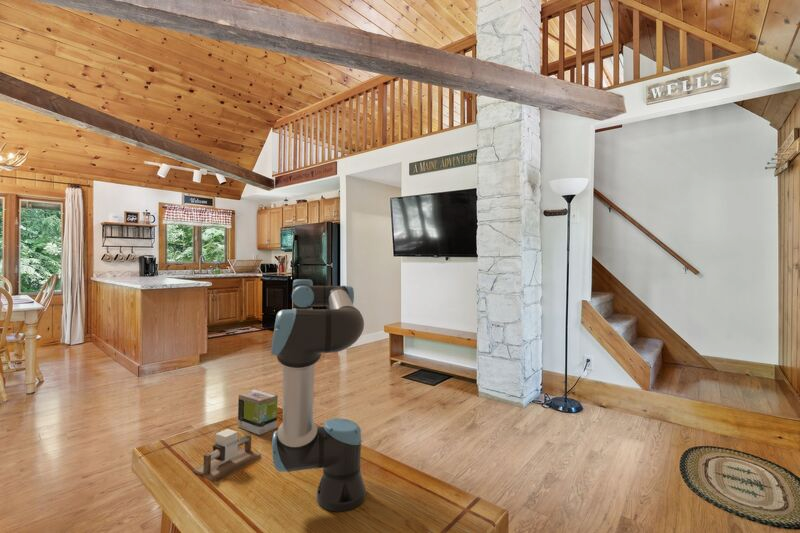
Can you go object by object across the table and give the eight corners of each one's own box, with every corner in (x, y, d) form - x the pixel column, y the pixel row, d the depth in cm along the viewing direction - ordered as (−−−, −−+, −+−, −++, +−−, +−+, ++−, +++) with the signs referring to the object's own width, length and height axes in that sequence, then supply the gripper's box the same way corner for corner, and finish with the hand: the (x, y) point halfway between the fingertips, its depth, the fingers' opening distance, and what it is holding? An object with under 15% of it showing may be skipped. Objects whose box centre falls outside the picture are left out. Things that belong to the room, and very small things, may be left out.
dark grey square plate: (224, 459, 134) (224, 446, 134) (221, 461, 133) (222, 448, 133) (215, 456, 136) (216, 443, 136) (212, 458, 135) (213, 445, 135)
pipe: (249, 443, 145) (249, 435, 145) (211, 462, 130) (212, 454, 130) (243, 441, 146) (243, 434, 146) (206, 460, 132) (206, 452, 132)
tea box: (277, 427, 170) (278, 394, 170) (258, 436, 161) (259, 401, 161) (256, 419, 178) (256, 388, 178) (236, 427, 169) (237, 394, 169)
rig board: (260, 456, 144) (261, 437, 144) (216, 481, 127) (217, 460, 127) (238, 449, 149) (238, 430, 149) (193, 472, 132) (193, 451, 132)
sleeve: (237, 455, 138) (237, 431, 138) (225, 461, 134) (225, 437, 134) (226, 451, 141) (227, 428, 141) (214, 457, 136) (215, 433, 136)
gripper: (304, 316, 155) (303, 374, 155) (283, 320, 144) (281, 383, 143) (320, 318, 152) (318, 377, 152) (299, 321, 141) (297, 385, 140)
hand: (300, 380), depth 148 cm, fingers closed
